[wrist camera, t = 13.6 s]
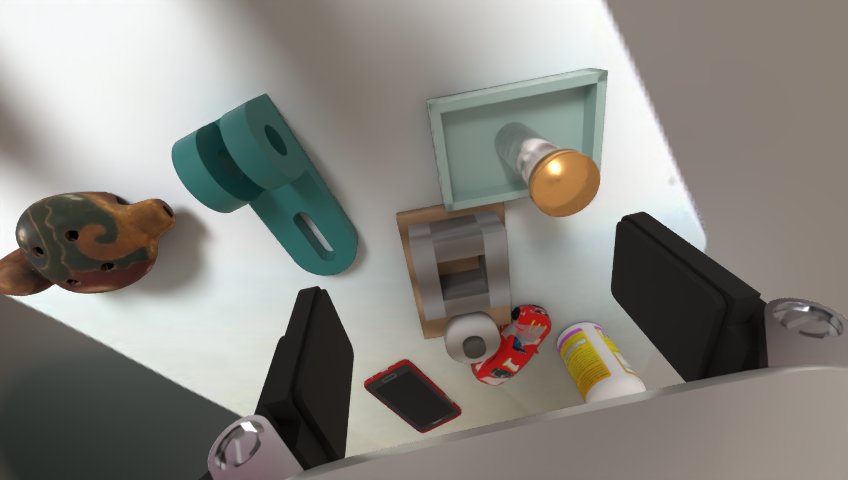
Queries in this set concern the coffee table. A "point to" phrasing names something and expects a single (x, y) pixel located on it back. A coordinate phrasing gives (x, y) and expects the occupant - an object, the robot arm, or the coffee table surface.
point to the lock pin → (549, 170)
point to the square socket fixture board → (459, 276)
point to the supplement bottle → (596, 363)
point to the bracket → (267, 183)
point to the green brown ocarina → (84, 244)
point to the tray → (497, 106)
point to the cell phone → (412, 396)
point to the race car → (514, 345)
